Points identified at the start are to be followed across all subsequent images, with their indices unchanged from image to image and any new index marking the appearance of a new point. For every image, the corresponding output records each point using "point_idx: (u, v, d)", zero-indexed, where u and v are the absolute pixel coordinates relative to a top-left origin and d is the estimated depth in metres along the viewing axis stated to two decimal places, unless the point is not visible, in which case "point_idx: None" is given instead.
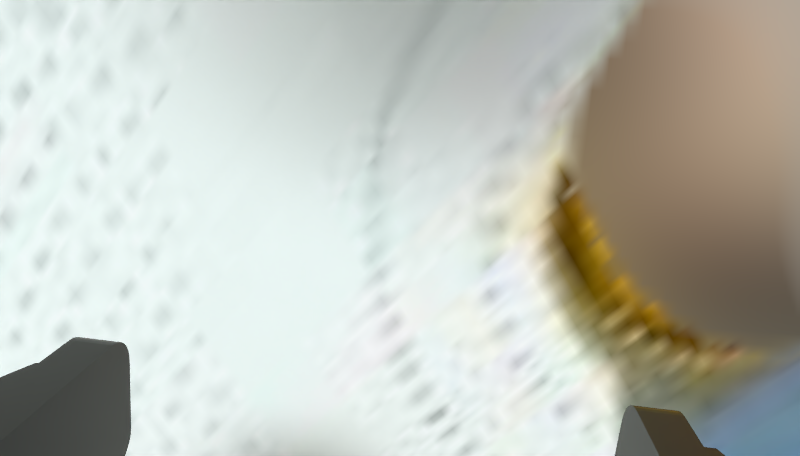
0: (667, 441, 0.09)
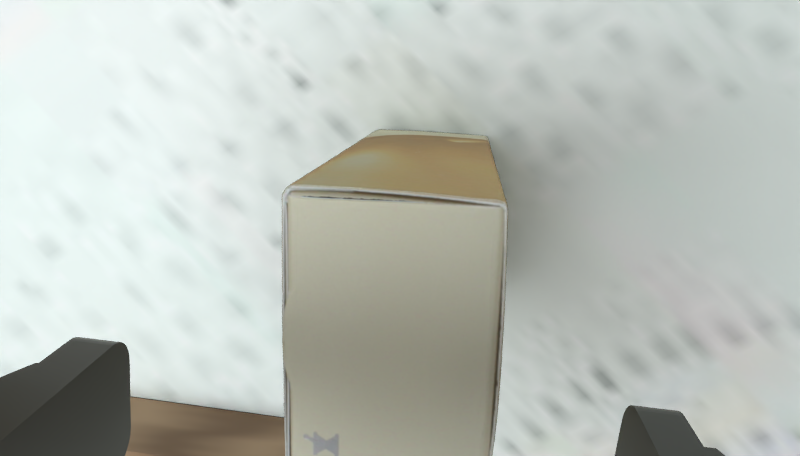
0: (667, 441, 0.09)
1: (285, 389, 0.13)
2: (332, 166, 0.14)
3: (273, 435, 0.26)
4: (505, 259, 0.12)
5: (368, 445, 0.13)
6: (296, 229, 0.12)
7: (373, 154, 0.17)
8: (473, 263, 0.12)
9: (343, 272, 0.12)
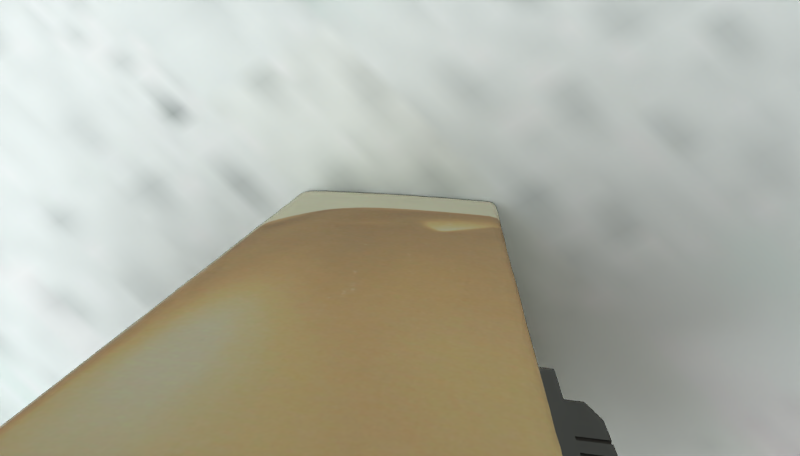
0: None
1: None
2: (40, 428, 0.05)
3: None
4: None
5: None
6: None
7: (232, 313, 0.07)
8: None
9: None
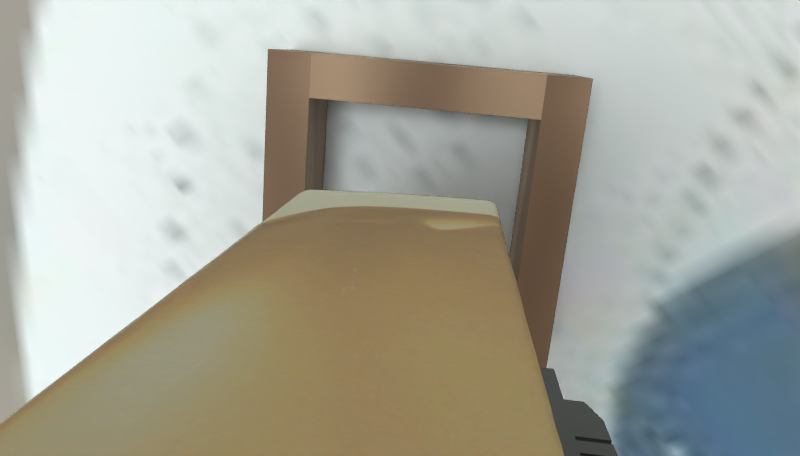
0: None
1: None
2: (41, 425, 0.05)
3: (511, 70, 0.24)
4: None
5: None
6: None
7: (233, 311, 0.07)
8: None
9: None
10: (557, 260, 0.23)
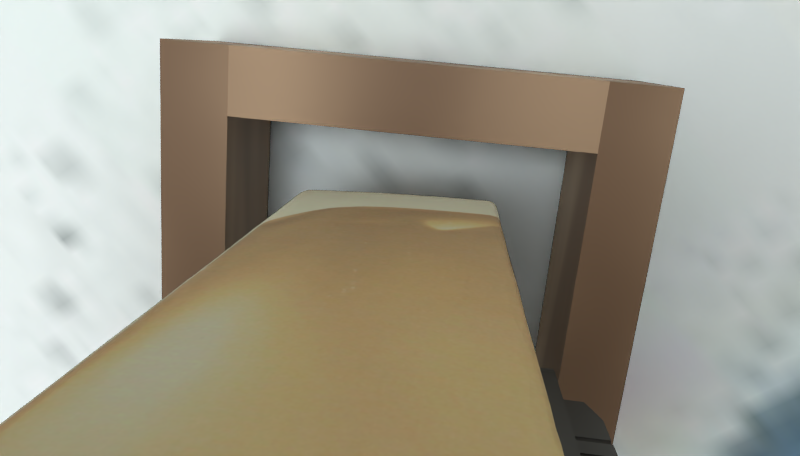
0: None
1: None
2: (40, 426, 0.05)
3: (546, 73, 0.16)
4: None
5: None
6: None
7: (232, 312, 0.07)
8: None
9: None
10: (617, 370, 0.15)
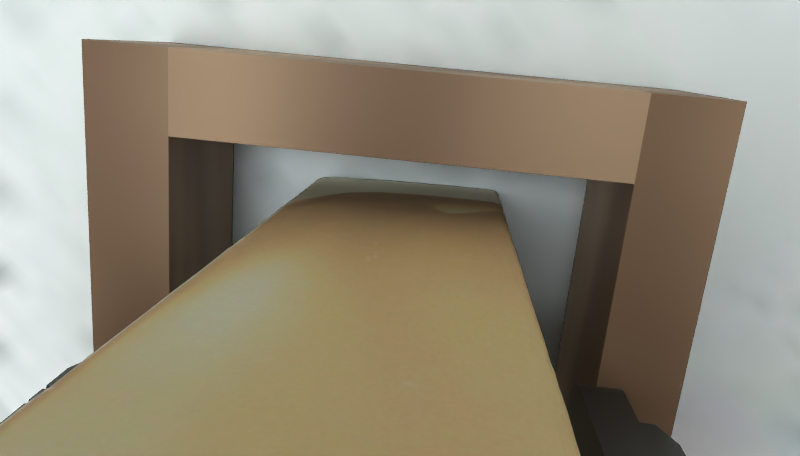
0: (604, 416, 0.09)
1: None
2: (136, 347, 0.06)
3: (565, 81, 0.13)
4: None
5: None
6: None
7: (275, 271, 0.08)
8: None
9: None
10: None
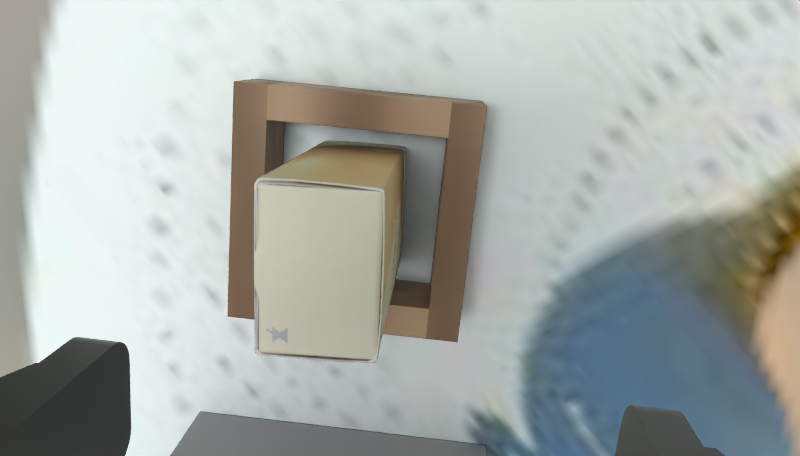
0: (667, 441, 0.09)
1: (255, 301, 0.22)
2: (286, 167, 0.23)
3: (429, 97, 0.30)
4: (384, 222, 0.21)
5: (305, 335, 0.22)
6: (262, 203, 0.21)
7: (315, 159, 0.25)
8: (365, 224, 0.21)
9: (290, 229, 0.21)
10: (464, 248, 0.30)
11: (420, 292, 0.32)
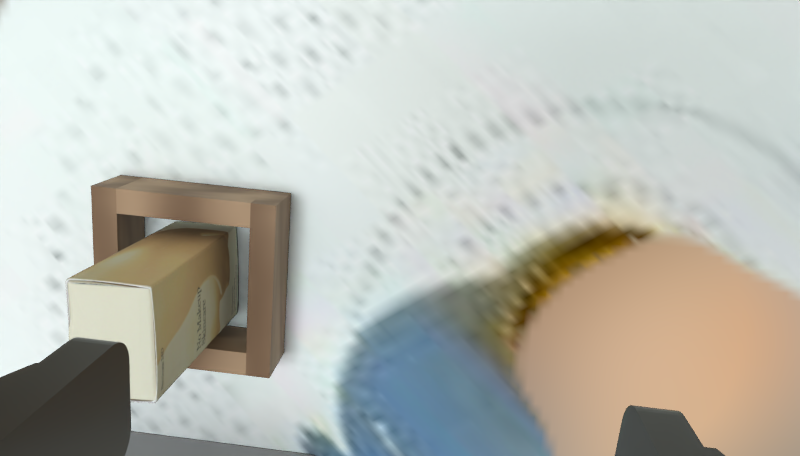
0: (667, 441, 0.09)
1: None
2: (102, 263, 0.33)
3: (245, 193, 0.40)
4: (153, 308, 0.30)
5: None
6: (71, 295, 0.30)
7: (135, 251, 0.35)
8: (140, 310, 0.30)
9: (90, 312, 0.31)
10: (268, 308, 0.39)
11: None
